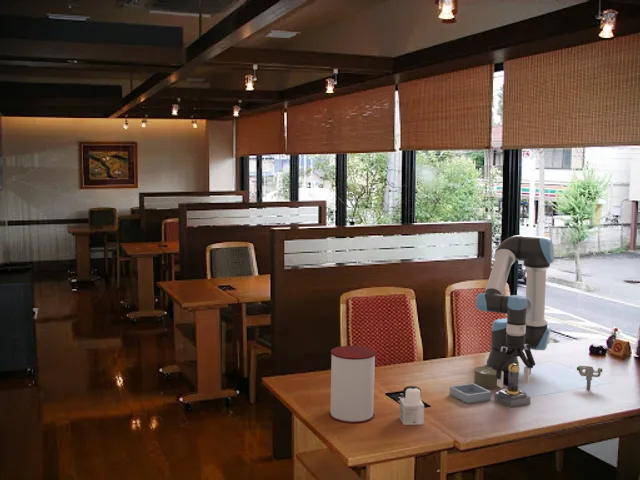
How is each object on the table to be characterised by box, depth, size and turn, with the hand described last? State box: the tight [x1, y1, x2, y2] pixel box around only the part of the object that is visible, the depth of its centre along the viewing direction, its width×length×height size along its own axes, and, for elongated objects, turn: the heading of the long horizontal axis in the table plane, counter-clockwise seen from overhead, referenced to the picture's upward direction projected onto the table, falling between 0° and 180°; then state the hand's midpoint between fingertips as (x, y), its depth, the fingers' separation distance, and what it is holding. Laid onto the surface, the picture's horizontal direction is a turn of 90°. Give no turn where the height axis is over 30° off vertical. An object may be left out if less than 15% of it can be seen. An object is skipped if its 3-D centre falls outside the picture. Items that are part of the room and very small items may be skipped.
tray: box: [449, 382, 492, 405], centre depth 285 cm, size 12×12×4 cm
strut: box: [505, 363, 521, 395], centre depth 280 cm, size 5×5×13 cm
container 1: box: [328, 345, 377, 424], centre depth 262 cm, size 17×17×25 cm
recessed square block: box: [494, 388, 532, 409], centre depth 280 cm, size 10×10×4 cm
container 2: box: [398, 385, 425, 426], centre depth 257 cm, size 8×8×13 cm
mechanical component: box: [576, 365, 603, 391], centre depth 298 cm, size 3×10×10 cm, turn 79°
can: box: [473, 366, 502, 391], centre depth 301 cm, size 12×12×7 cm
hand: (513, 384), depth 280 cm, fingers open, 13 cm apart
